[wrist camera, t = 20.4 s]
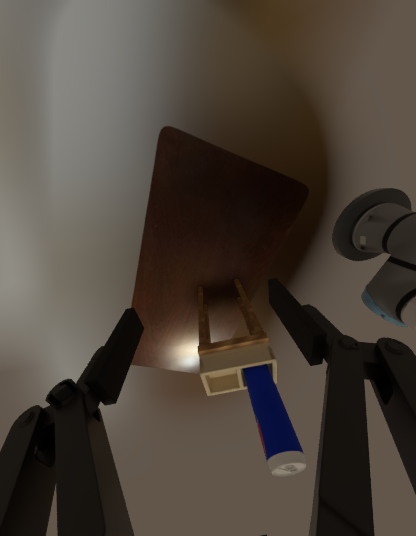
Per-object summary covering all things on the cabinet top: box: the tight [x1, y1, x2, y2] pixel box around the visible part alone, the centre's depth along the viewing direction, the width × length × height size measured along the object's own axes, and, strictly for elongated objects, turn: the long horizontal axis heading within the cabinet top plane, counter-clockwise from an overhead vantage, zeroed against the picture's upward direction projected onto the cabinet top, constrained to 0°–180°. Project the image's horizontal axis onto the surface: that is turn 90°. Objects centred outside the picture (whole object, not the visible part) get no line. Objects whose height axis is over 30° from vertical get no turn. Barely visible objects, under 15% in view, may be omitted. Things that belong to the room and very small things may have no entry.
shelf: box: [198, 279, 268, 357], centre depth 48 cm, size 15×10×26 cm, turn 101°
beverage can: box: [242, 364, 306, 476], centre depth 28 cm, size 5×5×15 cm
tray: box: [200, 342, 277, 396], centre depth 34 cm, size 15×8×4 cm, turn 101°
